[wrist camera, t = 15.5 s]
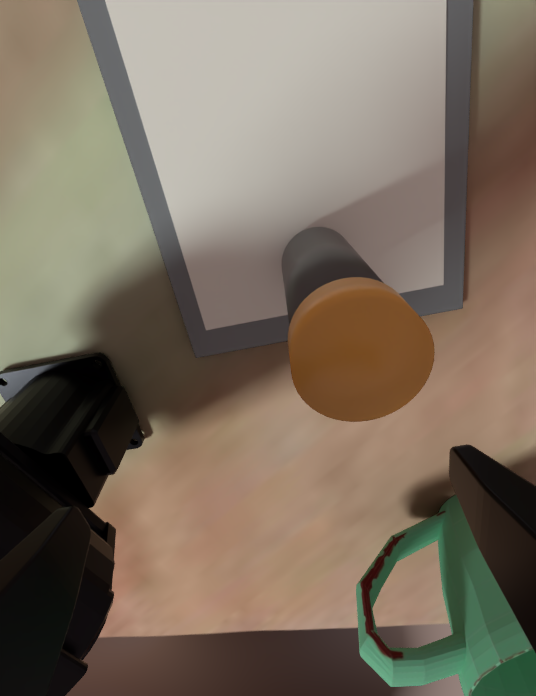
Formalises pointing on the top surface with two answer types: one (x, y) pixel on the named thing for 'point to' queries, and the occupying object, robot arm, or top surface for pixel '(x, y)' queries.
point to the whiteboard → (292, 144)
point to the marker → (349, 331)
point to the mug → (451, 616)
